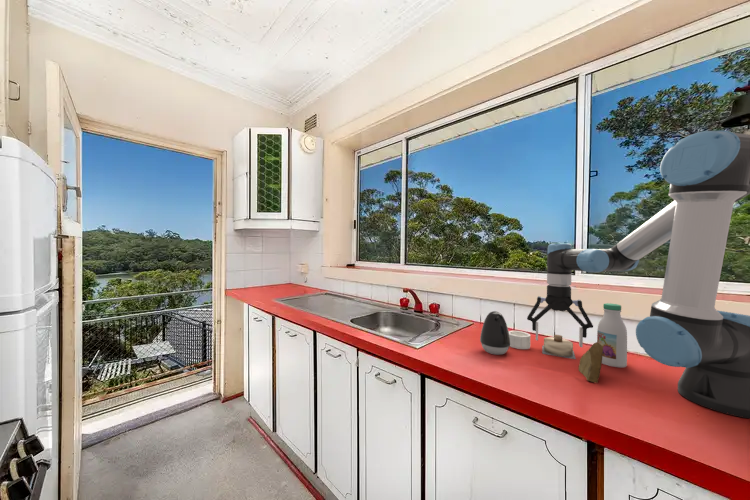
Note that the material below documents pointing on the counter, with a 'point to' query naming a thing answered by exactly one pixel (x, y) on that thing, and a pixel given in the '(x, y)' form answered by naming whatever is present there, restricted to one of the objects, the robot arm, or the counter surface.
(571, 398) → the counter surface
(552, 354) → the mat
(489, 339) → the black egg-shaped device
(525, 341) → the bowl
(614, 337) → the milk bottle
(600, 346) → the rock
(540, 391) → the counter surface
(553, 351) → the lid
